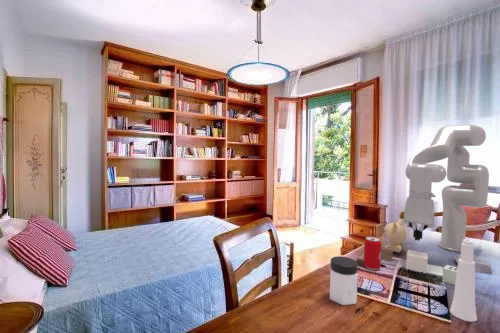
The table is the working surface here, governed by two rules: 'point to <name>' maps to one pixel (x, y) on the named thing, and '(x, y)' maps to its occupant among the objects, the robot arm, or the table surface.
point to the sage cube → (449, 274)
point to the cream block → (417, 261)
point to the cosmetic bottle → (465, 285)
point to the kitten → (395, 235)
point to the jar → (343, 280)
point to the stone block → (478, 264)
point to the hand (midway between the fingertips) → (417, 239)
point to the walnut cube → (386, 252)
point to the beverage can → (372, 253)
